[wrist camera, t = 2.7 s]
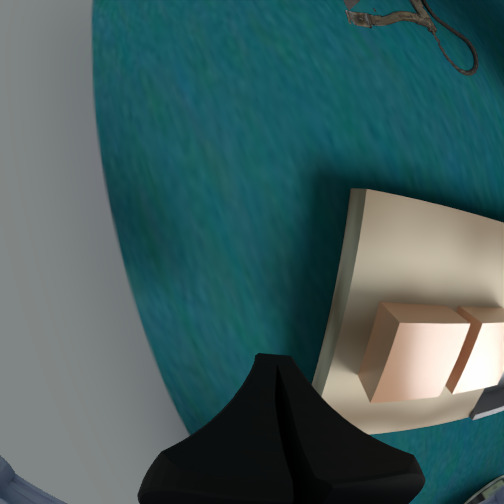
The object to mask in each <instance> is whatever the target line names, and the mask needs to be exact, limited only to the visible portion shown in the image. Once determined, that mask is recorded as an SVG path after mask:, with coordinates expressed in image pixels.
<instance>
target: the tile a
mask: <svg viewBox="0 0 504 504" xmlns="http://www.w3.org/2000/svg"><path fill="white" fill-rule="evenodd" d="M470 324H471V323H469V322H468V321H467V320H465V319H464V318H463V317H461V316H460V315H459V314H457V313H456V312H455V311H453V310H452V309H451V308H449V307H448V306H447V305H429V304H411V303H395V302H381V301H380V302H379V306H378V310H377V314H376V317H375V321H374V325H373V328H372V332H371V335H370V338H369V342H368V345H367V348H366V351H365V355H364V358H363V361H362V364H361V367H360V370H359V373H358V377H359V379H360V382H361V384H362V386H363V388H364V390H365V393H366V395H367V397H368V399H369V402H370V403H383V402H396V401H407V400H416V399H424V398H432V397H439V396H440V394H441V392H442V390H443V388H444V386H445V384H446V382H447V380H448V378H449V376H450V374H451V372H452V369H453V367H454V365H455V362H456V360H457V358H458V355H459V353H460V350H461V348H462V345H463V343H464V340H465V338H466V335H467V332H468V329H469V327H470Z"/></svg>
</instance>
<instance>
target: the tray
mask: <svg viewBox="0 0 504 504" xmlns="http://www.w3.org/2000/svg"><path fill="white" fill-rule="evenodd" d="M503 410H504V372H503V374H502V376H501V378H500V380H499V382H498V384H497V385H495V386H491V387H486V388H485V389H484V390H483V392H482V394H481V396H480V398H479V400H478V401H477V403H476V405H475V407H474V408H473V410H472V412H471V414H470V415H469V416H470V418H471V419H472V420H475V419H478V418H482V417H485V416H488V415H491V414H494V413H497V412H500V411H503Z"/></svg>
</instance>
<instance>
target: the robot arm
mask: <svg viewBox="0 0 504 504" xmlns="http://www.w3.org/2000/svg"><path fill="white" fill-rule="evenodd" d="M424 483H425V477H424V475H423V473H422V470H421V468H420V466H419V464H418V462H417V460H416V458H415V457H414V455H412V454H409V453H407V452H404V451H402V450H399V449H396V448H394V447H391V446H389V445H387V444H385V443H383V442H381V441H379V440H377V439H375V438H373V437H372V436H370V435H368V434H366V433H365V432H363V431H362V430H360V429H359V428H357V427H356V426H354V425H353V424H351V423H350V422H349V421H347V420H346V419H345V418H343V417H342V416H341V415H340V414H339V413H338V412H336V411H335V410H334V409H333V408H332V407H331V406H330V405H329V404H328V403H327V402H326V401H325V400H324V399H323V398H322V397H321V396H320V395H319V393H318V392H317V391H316V390H315V389H314V387H313V386H312V385H311V384H310V382H309V381H308V380H307V378H306V377H305V376H304V374H303V373H302V372H301V370H300V369H299V367H298V366H297V364H296V363H295V361H294V360H293V358H292V357H291V356H285V355H274V354H263V353H258V354H257V355H255V361H254V364H253V366H252V369H251V371H250V373H249V375H248V376H247V378H246V380H245V382H244V383H243V385H242V386H241V388H240V389H239V390H238V392H237V393H236V394H235V396H234V397H233V398H232V400H231V401H230V402H229V403H228V404H227V405H226V406H225V407H224V408H223V410H222V411H221V412H219V413H218V414H217V415H216V416H215V417H214V418H213V419H212V420H211V421H210V422H208V423H207V424H206V425H205V426H203V427H202V428H201V429H199V430H198V431H196V432H195V433H194V434H192V435H191V436H189V437H188V438H186V439H184V440H183V441H181V442H179V443H177V444H175V445H174V446H171V447H170V448H168V449H166V450H164V451H162V452H161V453H160V454H159V455H158V457H157V458H156V459H155V460H154V462H153V464H152V465H151V466H150V468H149V470H148V471H147V473H146V475H145V477H144V479H143V481H142V484H141V487H140V489H139V492H138V501H139V503H140V504H409V503H410V502H411V501H412V500H413V499H414V498H415V497H416V495H417V494H418V493H419V492H420V491H421V489H422V488H423V486H424ZM0 504H67V503H65V502H63V501H61V500H59V499H57V498H55V497H53V496H51V495H49V494H48V493H46V492H44V491H42V490H41V489H39V488H37V487H35V486H34V485H32V484H30V483H29V482H27V481H26V480H24V479H23V478H21V477H19V476H18V475H17V474H15V472H14V470H13V469H12V467H11V466H10V465H9V464H8V462H7V461H5V459H4V458H3V457H1V456H0ZM478 504H504V485H503V486H502V487H501V488H500V489H499V490H498V491H497V492H496V493H495V495H493V496H491V497H490V498H488V499H486V500H484V501H482V502H480V503H478Z"/></svg>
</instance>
